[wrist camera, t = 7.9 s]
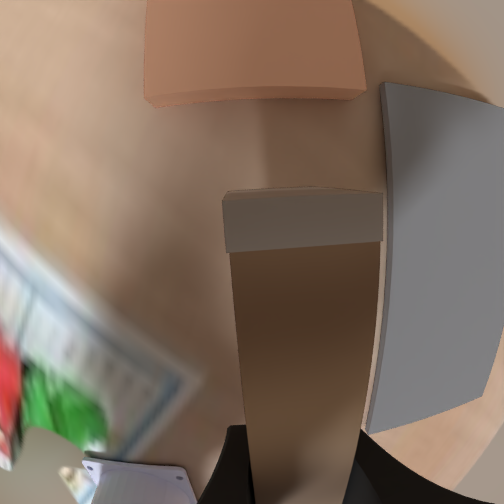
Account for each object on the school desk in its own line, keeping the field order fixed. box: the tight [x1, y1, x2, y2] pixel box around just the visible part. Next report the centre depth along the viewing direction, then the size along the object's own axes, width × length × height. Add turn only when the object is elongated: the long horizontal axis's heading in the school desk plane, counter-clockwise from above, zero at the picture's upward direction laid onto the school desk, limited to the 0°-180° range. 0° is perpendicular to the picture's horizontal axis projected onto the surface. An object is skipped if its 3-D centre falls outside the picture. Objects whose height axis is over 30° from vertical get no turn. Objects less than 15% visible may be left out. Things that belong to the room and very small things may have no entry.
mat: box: [365, 82, 504, 435], centre depth 15 cm, size 20×10×1 cm, turn 4°
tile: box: [144, 0, 367, 108], centre depth 11 cm, size 2×9×9 cm
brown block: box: [222, 186, 383, 504], centre depth 9 cm, size 15×3×5 cm, turn 4°
